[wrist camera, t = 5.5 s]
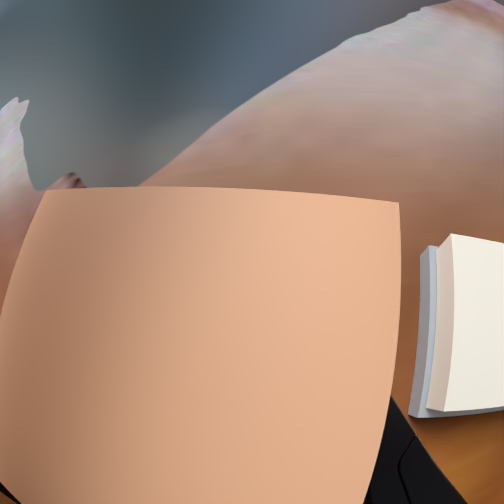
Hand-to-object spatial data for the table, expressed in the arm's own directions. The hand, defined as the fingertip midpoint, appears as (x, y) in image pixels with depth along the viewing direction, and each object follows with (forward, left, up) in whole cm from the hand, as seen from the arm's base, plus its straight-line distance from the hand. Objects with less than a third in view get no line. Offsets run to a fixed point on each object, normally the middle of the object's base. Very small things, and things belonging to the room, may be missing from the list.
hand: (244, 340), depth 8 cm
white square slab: (-14, -3, -9) cm, 17 cm away
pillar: (0, +1, -7) cm, 7 cm away
